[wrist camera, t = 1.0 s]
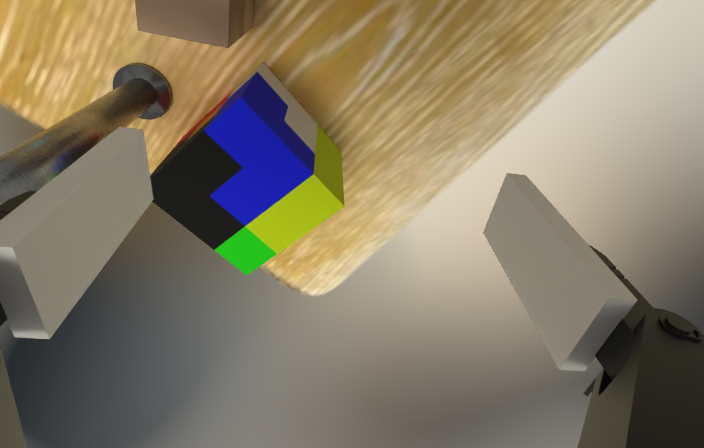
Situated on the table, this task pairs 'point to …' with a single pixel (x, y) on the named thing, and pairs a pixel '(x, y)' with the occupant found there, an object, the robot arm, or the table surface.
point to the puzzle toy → (252, 174)
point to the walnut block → (197, 19)
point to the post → (84, 130)
